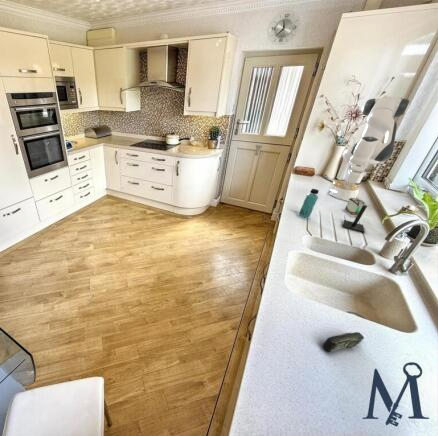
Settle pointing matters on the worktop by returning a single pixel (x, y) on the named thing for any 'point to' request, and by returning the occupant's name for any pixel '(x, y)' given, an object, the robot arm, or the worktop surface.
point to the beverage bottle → (309, 203)
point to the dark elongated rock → (342, 341)
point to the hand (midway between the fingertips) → (346, 187)
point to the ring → (338, 184)
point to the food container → (354, 206)
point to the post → (355, 222)
